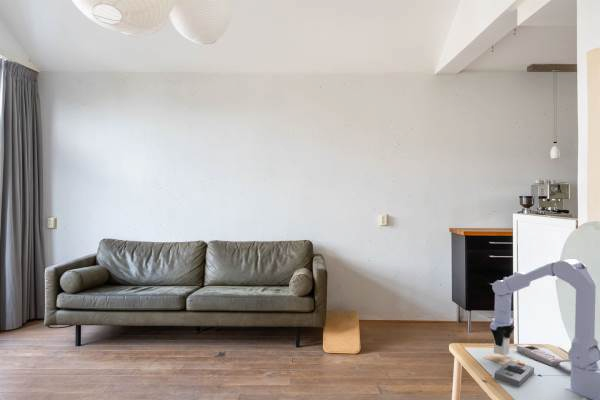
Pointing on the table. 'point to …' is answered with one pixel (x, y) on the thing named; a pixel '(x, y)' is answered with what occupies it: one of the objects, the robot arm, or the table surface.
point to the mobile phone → (539, 355)
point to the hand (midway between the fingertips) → (501, 344)
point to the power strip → (514, 373)
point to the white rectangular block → (502, 347)
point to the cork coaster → (499, 358)
